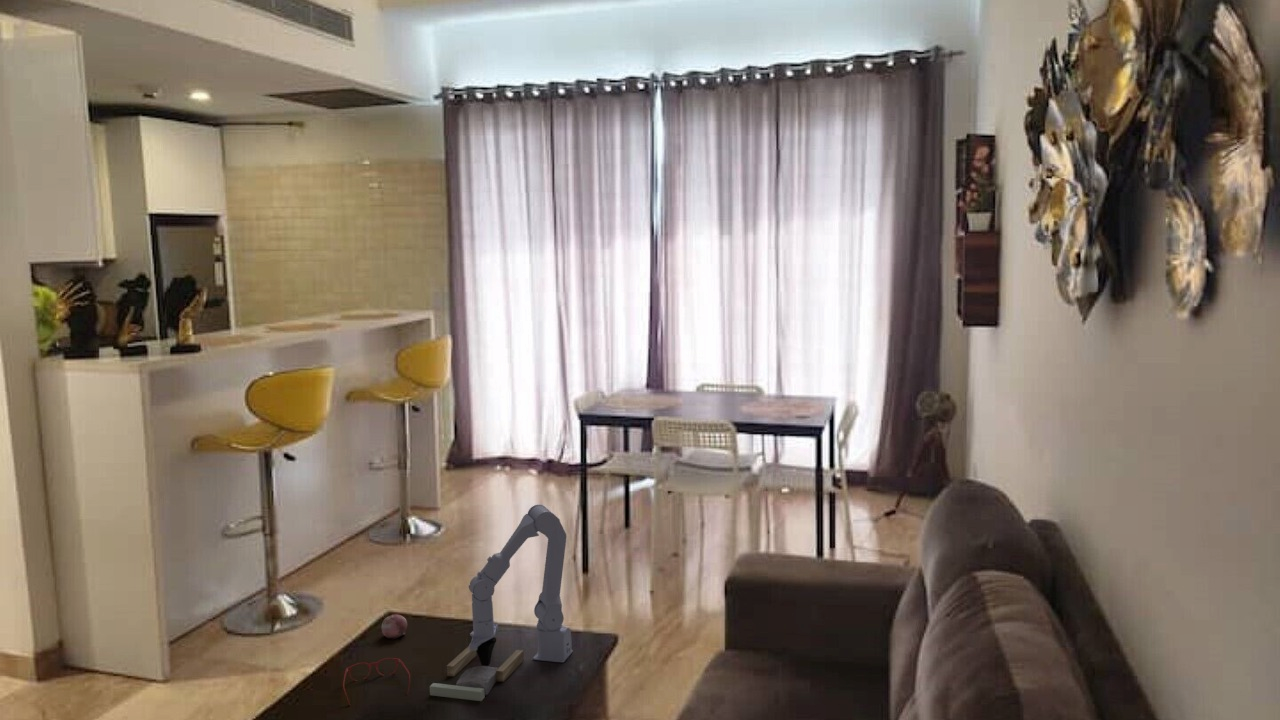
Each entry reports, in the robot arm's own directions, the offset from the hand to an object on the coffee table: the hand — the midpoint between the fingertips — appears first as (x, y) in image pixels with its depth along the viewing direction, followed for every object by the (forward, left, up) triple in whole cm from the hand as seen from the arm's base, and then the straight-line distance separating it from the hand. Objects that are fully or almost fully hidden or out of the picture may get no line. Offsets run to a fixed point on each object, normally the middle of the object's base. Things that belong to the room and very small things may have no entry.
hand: (485, 664), depth 262 cm
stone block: (-2, +10, -2) cm, 10 cm away
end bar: (0, +17, -1) cm, 17 cm away
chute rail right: (-7, 0, -1) cm, 8 cm away
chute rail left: (+8, 0, -1) cm, 8 cm away
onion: (+38, -15, -1) cm, 41 cm away
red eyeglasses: (+24, +17, -2) cm, 30 cm away
